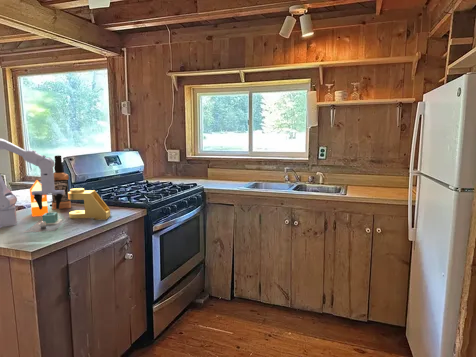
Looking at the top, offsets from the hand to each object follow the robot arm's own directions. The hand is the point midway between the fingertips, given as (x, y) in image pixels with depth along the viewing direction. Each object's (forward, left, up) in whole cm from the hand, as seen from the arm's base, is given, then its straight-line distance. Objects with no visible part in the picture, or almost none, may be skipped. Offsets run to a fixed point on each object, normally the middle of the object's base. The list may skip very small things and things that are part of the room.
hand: (49, 208), depth 170 cm
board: (0, -6, -8) cm, 10 cm away
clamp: (+17, +9, -8) cm, 21 cm away
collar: (0, 0, -7) cm, 7 cm away
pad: (0, 0, -7) cm, 7 cm away
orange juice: (-11, +20, -8) cm, 24 cm away
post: (0, -11, -7) cm, 13 cm away
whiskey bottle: (-5, +40, -8) cm, 41 cm away
